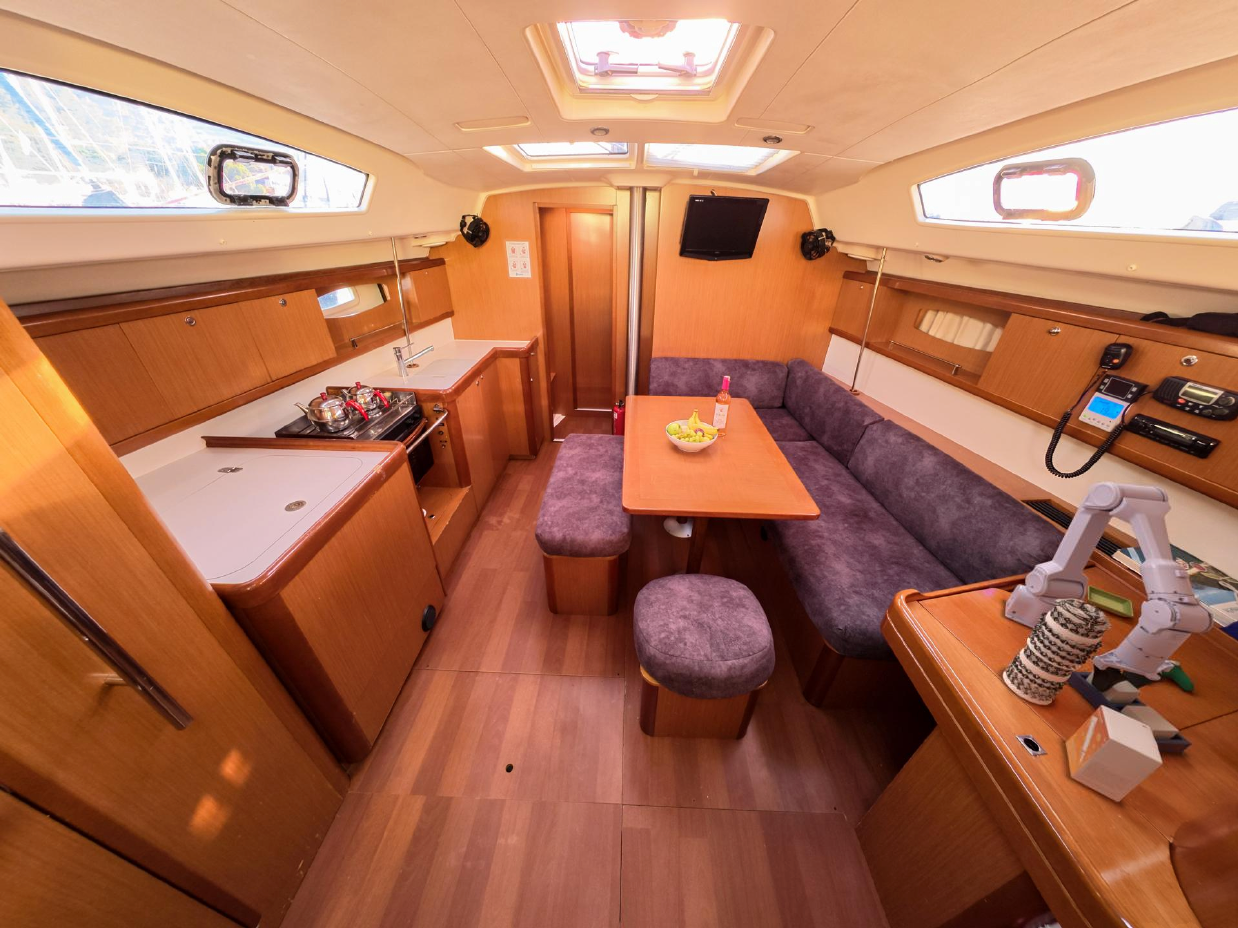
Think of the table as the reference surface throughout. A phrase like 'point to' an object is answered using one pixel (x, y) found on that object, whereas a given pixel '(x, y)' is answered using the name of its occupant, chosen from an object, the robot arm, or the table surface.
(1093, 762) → the small box
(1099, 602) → the green shallow tray
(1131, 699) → the white squarish block
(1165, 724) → the beige block
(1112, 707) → the holder
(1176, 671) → the gaming controller
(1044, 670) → the decorative candle
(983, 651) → the table surface
